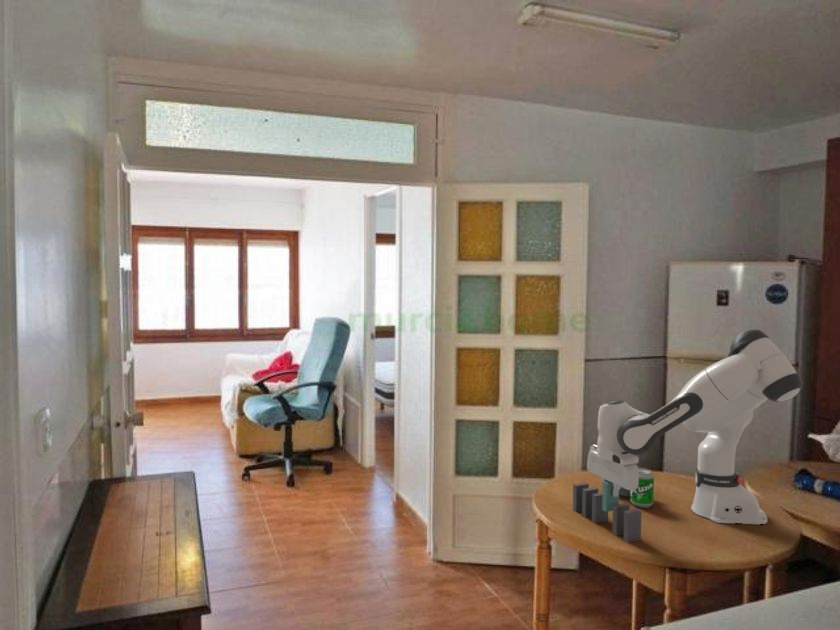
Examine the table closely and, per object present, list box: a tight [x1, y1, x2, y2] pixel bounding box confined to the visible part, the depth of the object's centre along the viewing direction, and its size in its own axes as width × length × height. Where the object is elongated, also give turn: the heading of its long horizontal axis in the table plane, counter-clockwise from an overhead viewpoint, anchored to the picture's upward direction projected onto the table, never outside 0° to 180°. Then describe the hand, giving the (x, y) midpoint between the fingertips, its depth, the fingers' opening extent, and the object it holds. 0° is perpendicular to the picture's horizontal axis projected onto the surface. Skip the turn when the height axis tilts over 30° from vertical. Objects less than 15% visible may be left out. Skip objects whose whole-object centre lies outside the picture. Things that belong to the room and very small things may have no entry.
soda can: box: [629, 467, 655, 509], centre depth 209 cm, size 8×8×12 cm
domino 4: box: [602, 481, 620, 513], centre depth 190 cm, size 2×5×9 cm, turn 113°
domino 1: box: [572, 482, 590, 513], centre depth 205 cm, size 2×5×9 cm, turn 112°
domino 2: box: [581, 486, 599, 518], centre depth 200 cm, size 2×5×9 cm, turn 112°
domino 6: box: [623, 508, 642, 543], centre depth 181 cm, size 2×5×9 cm, turn 112°
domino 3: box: [591, 491, 609, 524], centre depth 195 cm, size 2×5×9 cm, turn 112°
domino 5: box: [612, 502, 631, 537], centre depth 186 cm, size 2×5×9 cm, turn 112°
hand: (611, 494), depth 190 cm, fingers closed on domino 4, 2 cm apart
